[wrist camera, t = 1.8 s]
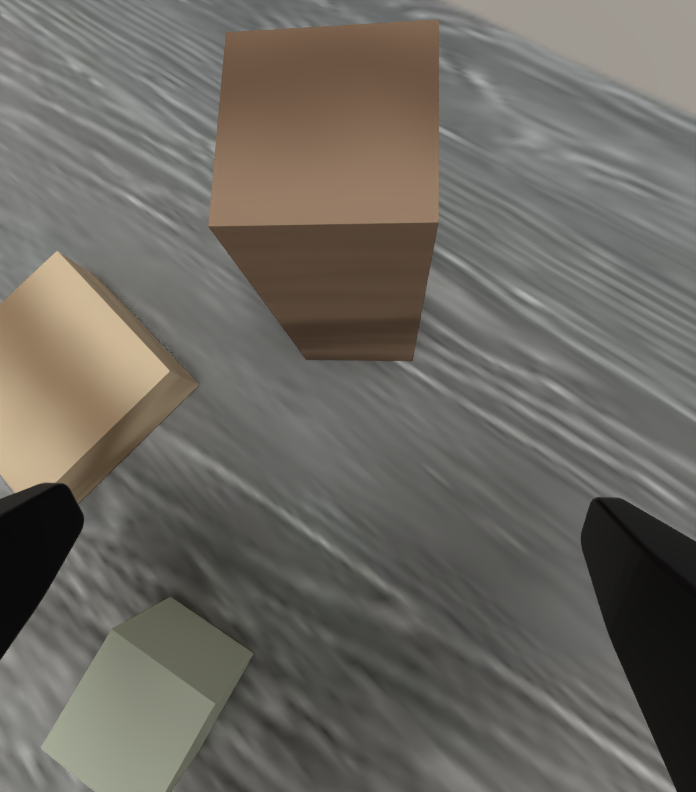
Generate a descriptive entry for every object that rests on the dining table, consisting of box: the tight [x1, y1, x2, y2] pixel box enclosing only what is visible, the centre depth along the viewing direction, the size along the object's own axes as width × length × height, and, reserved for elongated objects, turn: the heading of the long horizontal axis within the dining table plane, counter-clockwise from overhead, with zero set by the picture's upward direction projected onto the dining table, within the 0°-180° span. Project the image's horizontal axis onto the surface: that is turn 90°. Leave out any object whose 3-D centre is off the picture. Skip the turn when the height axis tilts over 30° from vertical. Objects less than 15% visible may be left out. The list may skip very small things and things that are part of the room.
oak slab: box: [0, 251, 199, 503], centre depth 21 cm, size 8×8×3 cm
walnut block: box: [208, 20, 439, 361], centre depth 16 cm, size 5×5×12 cm
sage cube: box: [41, 597, 253, 792], centre depth 18 cm, size 4×4×4 cm
